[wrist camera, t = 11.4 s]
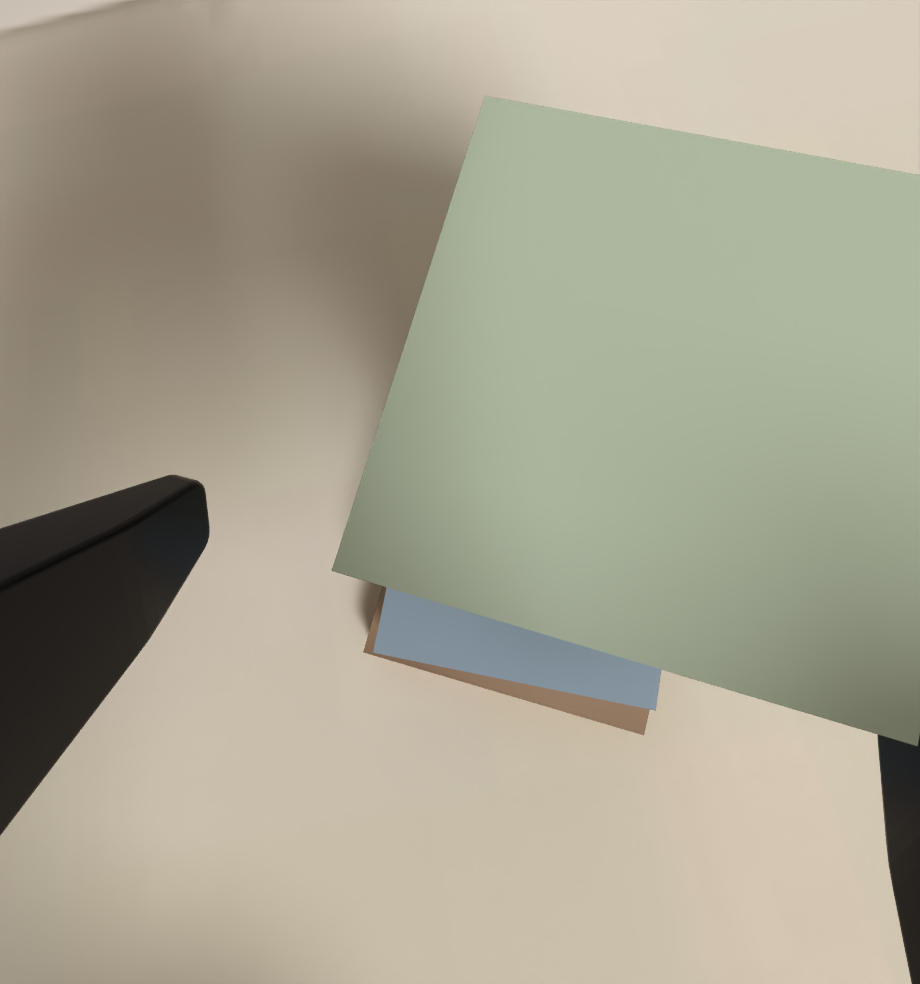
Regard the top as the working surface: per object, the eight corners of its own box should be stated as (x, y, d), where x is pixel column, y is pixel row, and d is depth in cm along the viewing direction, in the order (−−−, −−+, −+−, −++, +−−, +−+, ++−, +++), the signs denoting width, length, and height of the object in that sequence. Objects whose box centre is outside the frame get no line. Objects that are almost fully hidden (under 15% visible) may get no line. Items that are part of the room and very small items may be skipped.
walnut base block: (630, 723, 20) (643, 735, 18) (379, 649, 21) (362, 651, 19) (686, 471, 21) (705, 454, 19) (447, 414, 22) (439, 392, 20)
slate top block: (639, 699, 18) (655, 710, 16) (389, 649, 19) (373, 652, 17) (673, 452, 19) (692, 431, 17) (437, 415, 20) (427, 390, 18)
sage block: (653, 661, 16) (917, 746, 5) (455, 602, 17) (331, 571, 6) (700, 465, 17) (1013, 191, 6) (509, 417, 17) (485, 95, 7)
